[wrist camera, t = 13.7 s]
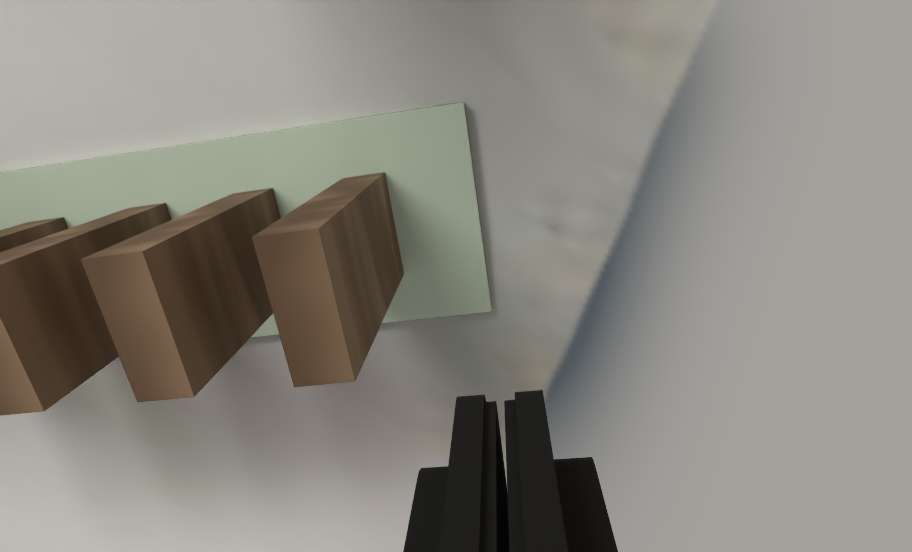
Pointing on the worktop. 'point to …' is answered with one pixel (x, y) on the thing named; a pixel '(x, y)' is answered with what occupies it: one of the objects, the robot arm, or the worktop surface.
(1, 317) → the domino
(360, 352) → the domino
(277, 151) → the mat
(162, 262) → the domino
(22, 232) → the domino
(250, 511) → the worktop surface
